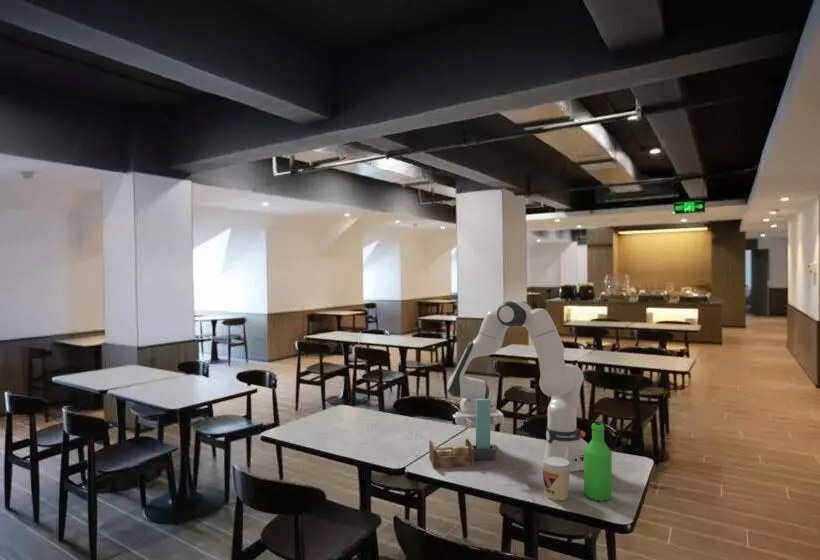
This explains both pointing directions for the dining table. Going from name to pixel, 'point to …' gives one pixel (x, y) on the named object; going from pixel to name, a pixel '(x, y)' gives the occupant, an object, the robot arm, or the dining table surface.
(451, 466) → the walnut rack
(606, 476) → the bottle
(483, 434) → the teal panel
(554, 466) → the coffee cup
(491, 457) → the charcoal holder
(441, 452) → the oak offcut
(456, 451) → the oak offcut
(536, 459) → the dining table surface
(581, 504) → the dining table surface
